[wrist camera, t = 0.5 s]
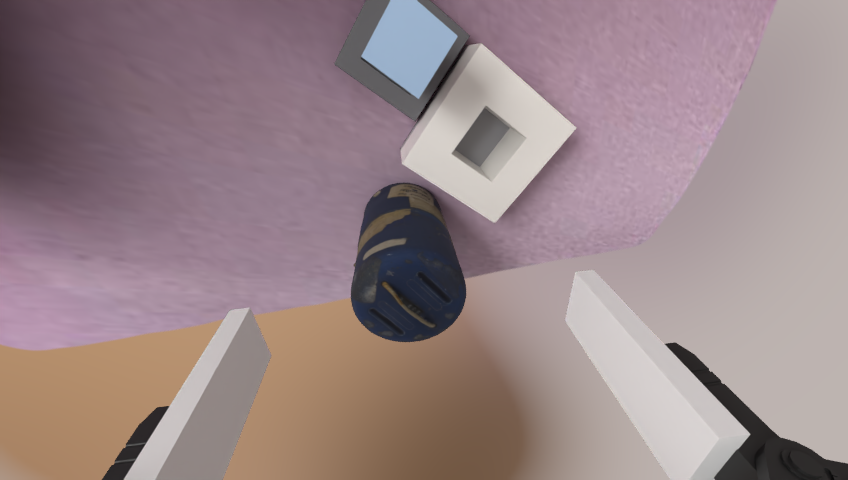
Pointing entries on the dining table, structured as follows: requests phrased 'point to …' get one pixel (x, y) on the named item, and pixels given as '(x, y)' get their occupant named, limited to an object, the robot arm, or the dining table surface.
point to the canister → (406, 267)
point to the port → (484, 134)
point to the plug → (409, 45)
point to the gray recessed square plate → (378, 80)
